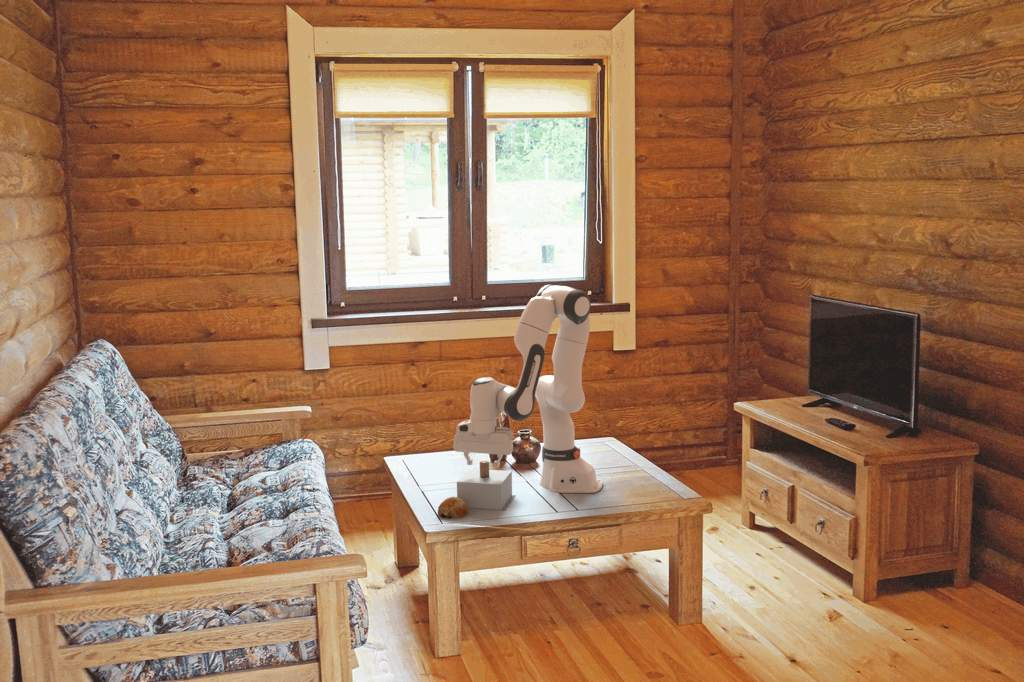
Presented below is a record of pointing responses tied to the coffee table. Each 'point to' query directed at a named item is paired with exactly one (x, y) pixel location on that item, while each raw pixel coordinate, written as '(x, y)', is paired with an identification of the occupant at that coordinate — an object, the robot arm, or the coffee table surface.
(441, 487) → the coffee table surface
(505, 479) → the cover
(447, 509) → the bread roll
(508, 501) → the mat
